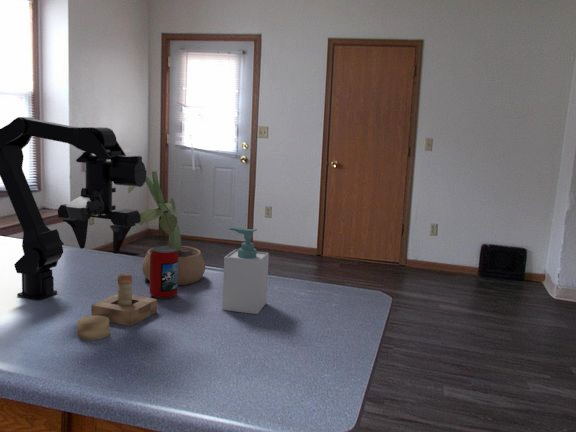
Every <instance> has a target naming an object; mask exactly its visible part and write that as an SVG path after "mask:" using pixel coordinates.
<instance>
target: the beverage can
mask: <svg viewBox="0 0 576 432" xmlns="http://www.w3.org/2000/svg"><path fill="white" fill-rule="evenodd" d="M152 248H153V251H152V253H151V255H150V281H149V294H150V295H151V296H153V297H154V298H155V299H160V300H161V299H165V300H166V299H171V298H173V297H174V296H176V295H177V294H178V286H179V285H178V254H177V252H176V249H175V248H174V247H170V246H169V245H159V246H155V247H152Z"/></svg>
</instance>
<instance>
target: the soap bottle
mask: <svg viewBox="0 0 576 432" xmlns="http://www.w3.org/2000/svg"><path fill="white" fill-rule="evenodd" d="M229 230H230V231H234V232H236V233H238V234H241V235H243V239H244V241H243V242H242V243H241V246H240V247H239V248H238V249H237V248H236V249H234V250H232V251H231V252H229V253H227V255H225V256H224V258H223V261H224V262H223V278H222V279H223V281H222V282H223V283H222V307H221V308H222V309H221V310H222V311H228V312H235V313H236V312H237V313H243V314H244V313H246V314H254V315H258V314H259V312H260V311H261V310H262V309H263V308H264V306H265V305H266V304H267V298H268V297H267V296H268V295H267V293H268V274H269V273H268V272H269V260H270V259H269V258H270V257H269V256H270V253H269V252H266V251H257V249H256V248H255V247H254V246H255V245H254V242H251V239H252V235H253V232H256V231H258V230H257V229H256V228H255V229H254V228H253V229H252V228H251V229H250V228H242V227H235V226H234V227H229Z"/></svg>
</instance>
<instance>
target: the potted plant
mask: <svg viewBox="0 0 576 432" xmlns="http://www.w3.org/2000/svg"><path fill="white" fill-rule="evenodd" d="M151 178H152V180H151V179H150V178H149V177H148V176H147V175H146V180H145V183H146V185H147V187H148V189H149V192H150V193H151V196H152V198H153V200H154V202H155V203H156V205H157V206H155V207H154V208H152V209H147V210H144V211H141V212H139V213H140V215H141V221H140V223H137V224H138V225H140V226H142V225H144V224H147V223H149V222H151V221H155V220H157V219H159V218H160V220H159V221H158V222H159V223H158V224H159V227H160V228H161V230H163V231H164V232H167V233H168V246H170V247H174V248H175V249H176V252H177V254H178V286H186V285H192V284H194V283H197V282H198V281H199V280H201V279H202V277H203V275H204V274H205V271H206V262H205V259H204V257H203V255H202V252H201V250H200V249H198V248H196V247H192V246H186V245H182V237H181V230H180V227H179V224H178V214H177V207H176V203H175V200H174V199H173V197H172V198H170V201H169V202H166V203H165V199H164V195H163V192H162V189H161V186H160V183H159V177H158V170H152V171H151ZM135 188H136V187H135V186H127V192H128V194H130V193H131V192H132V191H134V189H135ZM171 208H172V212H171V210H170V209H171ZM153 248H154V247H151V248H150V249H148V250H147V251H146V252H147V253H146V254H145V256H144V259H143V262H142V273H143V275H144V277H145V278H146V279H147V281H149V282H150V255H151V253H152V251H153Z"/></svg>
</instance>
